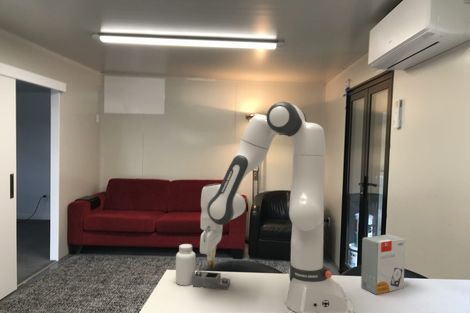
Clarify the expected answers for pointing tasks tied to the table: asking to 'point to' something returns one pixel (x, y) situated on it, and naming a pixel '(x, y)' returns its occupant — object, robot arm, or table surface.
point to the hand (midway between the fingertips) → (211, 257)
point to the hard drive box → (382, 263)
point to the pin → (211, 262)
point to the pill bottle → (185, 265)
